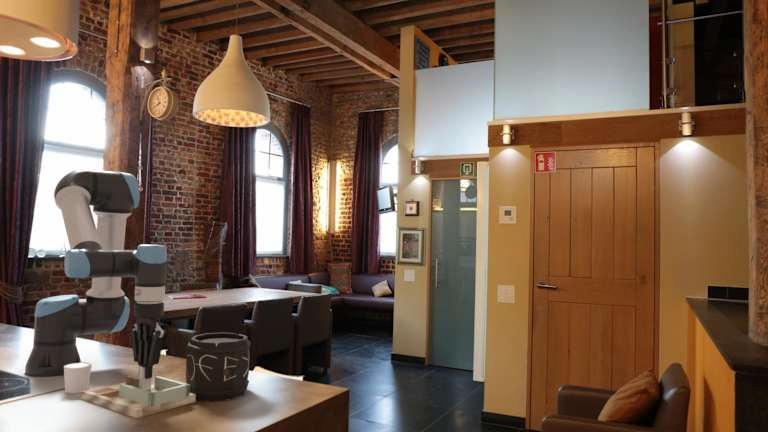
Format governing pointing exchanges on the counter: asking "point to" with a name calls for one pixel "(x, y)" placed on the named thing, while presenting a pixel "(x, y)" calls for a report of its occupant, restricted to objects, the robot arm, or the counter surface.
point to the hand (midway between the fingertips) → (144, 389)
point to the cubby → (167, 392)
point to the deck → (130, 401)
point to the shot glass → (77, 377)
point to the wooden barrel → (218, 365)
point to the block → (133, 380)
